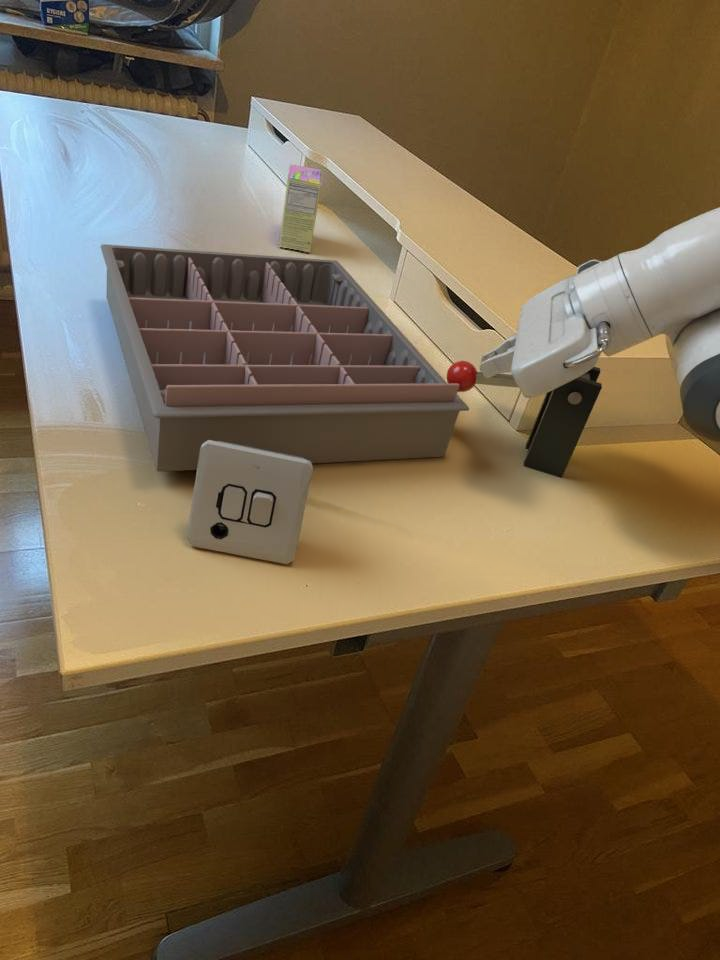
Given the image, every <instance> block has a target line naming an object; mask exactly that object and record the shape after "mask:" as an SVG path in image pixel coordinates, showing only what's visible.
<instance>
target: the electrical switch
mask: <svg viewBox="0 0 720 960" xmlns="http://www.w3.org/2000/svg"><path fill="white" fill-rule="evenodd" d="M313 473H314V466H313V463H311V461H309V460H306V459H304V458H303V457H298V456H293V455H288V454H283V453H278V452H273V451H268V450H263V449H258V448H253V447H248V446H243V445H238V444H233V443H228V442H223V441H212V440H208V441H206V442H204V443H203V444H202V446H201V448H200V453H199V460H198V467H197V470H196V473H195V480H194V486H193V492H192V493H193V494H192V500H191V507H190V513H189V521H188V526H187V527H188V528H187V532H186V541H187V543H188V545H190V546H191V547H194V548H198V549H199V548H200V549H203V550H204V549H206V550H211V551H215V552H219V553H220V552H221V553H227V554H231V555H237V556H242V557H248V558H252V559H258V560H263V561H269V562H274V563H279V564H285V565H287V564H290V563H292V562H293V561H294V560H295V558H296V554H297V552H298V545H299V541H300V534H301V531H302V525H303V521H304V516H305V515H304V514H305V509H306V504H307V499H308V494H309V489H310V485H311V481H312V477H313Z"/></svg>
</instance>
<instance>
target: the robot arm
mask: <svg viewBox="0 0 720 960" xmlns="http://www.w3.org/2000/svg"><path fill="white" fill-rule="evenodd" d="M519 312H520V313H519V318H518V325H517V331H516V333H515V334H513V335H511V336H509V337H508V338H506V339H505V340H504V341H503V342H500V344H499V345H497V346H496V347H495V348H494V349H491V350H489V351H487V352H485V353H483V354H482V356H481V360H480V363H479V371H480V372H482V374H483V376H484V377H485V378H490V377H493V376H495V375H497V374H507V373H511V375H512V376H513V378H514V379H515V381H516V383H517V385H518V387H519V388H518V389H519V391H520V392H521V394H522V396H523V397H524V398H525V399H534V398H539V397H541V396H544V395H546V393H548V392H550V391H552V390H554V389H556V388H558V387H560V386H562V385H564V384H566V383H568V382H570V381H572V380H574V379H576V378H578V377H579V376H581V375H583V374H585V373H586V372H588V371H589V370H591V369H592V368H593V367H596V365H597V363H598V361H599V357H600V356H602V355H601V354H602V353H603V354H604V355H605V356H606V357H612V356H615V355H617V354H619V353H621V352H623V351H626V350H627V349H630V348H633V347H634V346H637V345H639V344H642V343H643V342H646V341H649V340H651V339H652V338H655V337H658V336H660V335H665V346H666V350H667V353H668V356H669V360H670V365H671V369H672V372H673V374H674V377H675V380H676V383H677V386H678V389H679V397H680V403H681V408H682V415H683V418H684V421H685V422H686V425H687V426H688V427H689V428H690V430H691V431H693V432H694V433H695V434H697V435H698V436H699V437H701V438H703V439H706V440H709V441H712V442H715V443H718V444H719V443H720V206H719V207H716V208H714V209H711V210H708V211H706V212H704V213H701V214H699V215H697V216H695V217H691V218H690V219H688V220H686V221H683V222H681V223H679V224H677V225H675V226H673V227H671V228H668V229H667V230H665V231H663V232H662V233H660V234H658V236H657V237H655V238H654V239H653V240H652V241H650V242H649V243H647V244H645V245H644V246H641V247H640V248H637V249H633V250H628V251H624V252H620V253H619V254H616V255H614V256H612V257H611V258H608V259H607V260H598V259H590V260H588V261H585V262H584V263H582V264H580V265H579V266H577V268H576V274H572V275H570V276H566V277H564V278H563V279H562V280H560V281H558V282H556V283H554V284H553V285H551V286H549V287H547V288H546V289H544V290H542V291H540V292H539V293H537V294H535V295H534V296H532V297H531V298H530V299H528V300H527V301H526V302H525V303H524V304H522V306H520V311H519Z"/></svg>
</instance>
